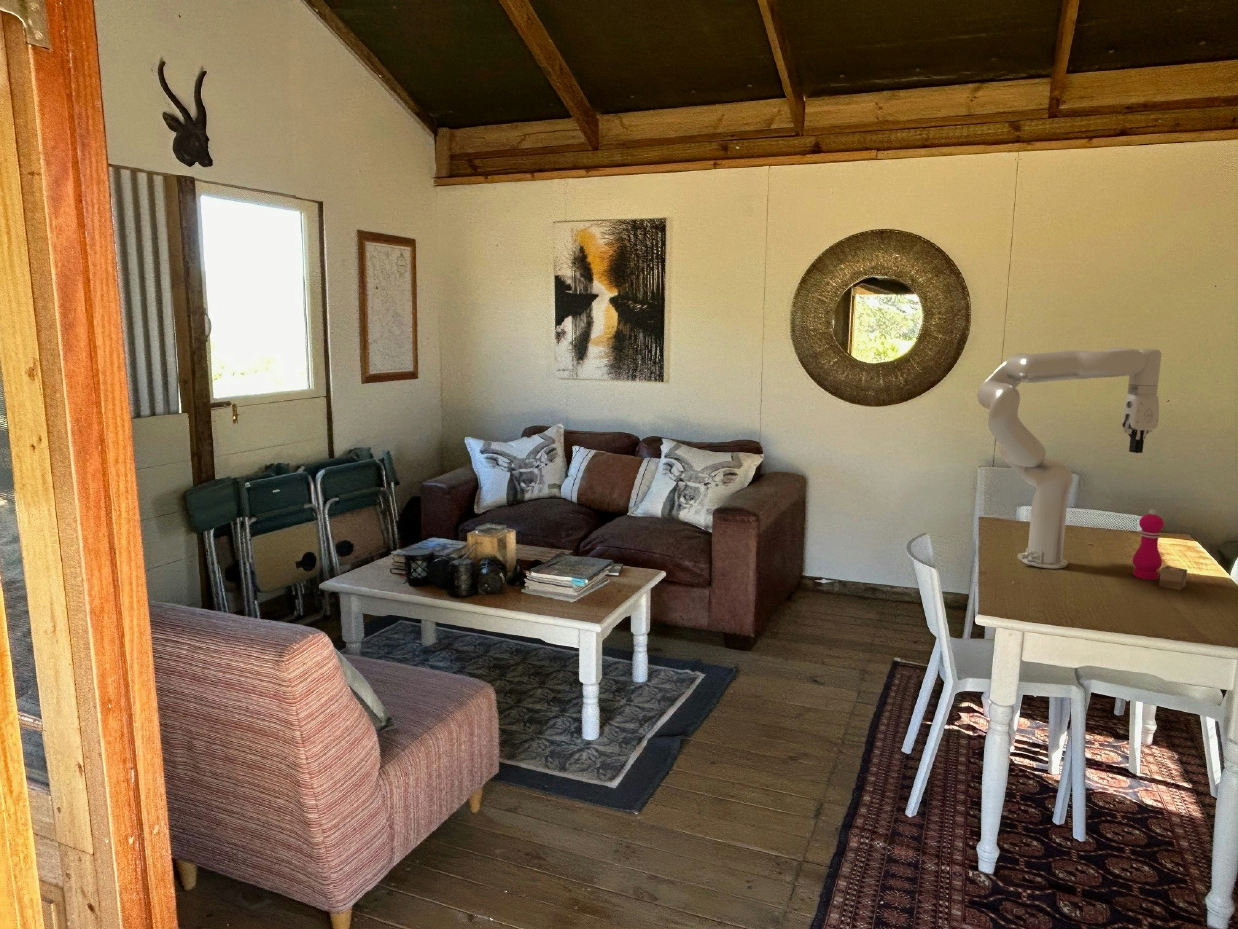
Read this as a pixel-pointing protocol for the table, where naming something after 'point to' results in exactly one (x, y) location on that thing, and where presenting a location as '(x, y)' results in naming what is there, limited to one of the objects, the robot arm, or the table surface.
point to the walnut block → (1173, 577)
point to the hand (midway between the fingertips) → (1135, 452)
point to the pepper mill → (1148, 547)
